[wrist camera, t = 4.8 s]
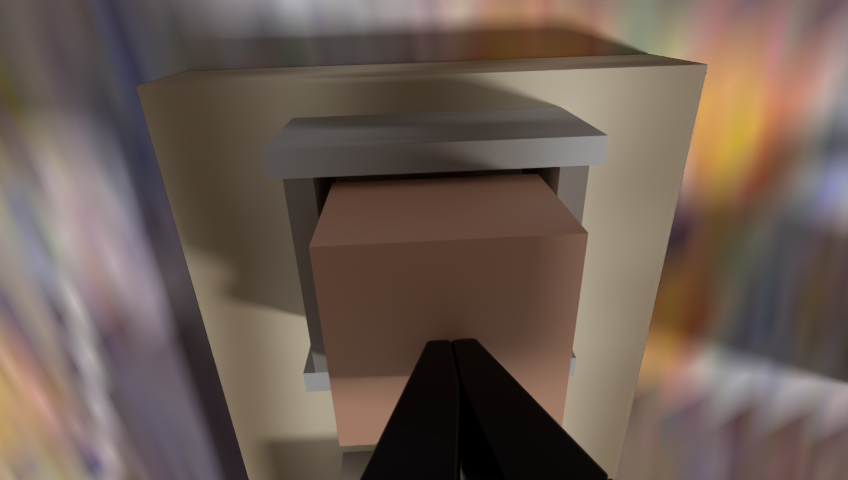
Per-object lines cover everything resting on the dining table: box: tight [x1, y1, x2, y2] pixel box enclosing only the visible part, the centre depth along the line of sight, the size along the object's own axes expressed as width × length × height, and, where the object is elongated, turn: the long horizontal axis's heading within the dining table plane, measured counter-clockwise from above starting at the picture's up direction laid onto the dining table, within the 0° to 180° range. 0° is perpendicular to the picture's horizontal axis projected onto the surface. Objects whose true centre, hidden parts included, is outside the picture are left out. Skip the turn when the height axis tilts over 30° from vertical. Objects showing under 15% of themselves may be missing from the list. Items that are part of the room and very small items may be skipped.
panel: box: [136, 54, 708, 480], centre depth 16 cm, size 14×20×6 cm
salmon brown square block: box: [309, 174, 588, 446], centre depth 10 cm, size 4×4×3 cm
